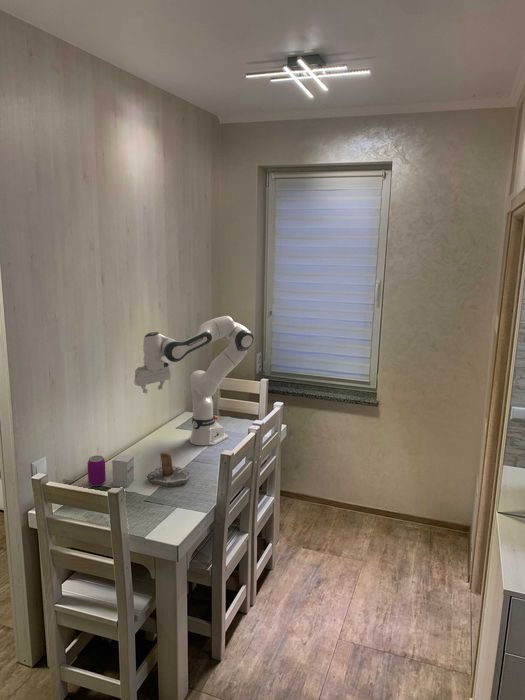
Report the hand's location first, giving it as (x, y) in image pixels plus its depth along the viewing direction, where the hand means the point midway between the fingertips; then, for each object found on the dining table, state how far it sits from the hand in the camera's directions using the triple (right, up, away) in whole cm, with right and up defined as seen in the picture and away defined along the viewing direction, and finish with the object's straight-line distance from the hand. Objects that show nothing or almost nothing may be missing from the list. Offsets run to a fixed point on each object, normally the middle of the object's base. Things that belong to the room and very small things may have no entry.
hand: (152, 391), depth 259 cm
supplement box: (-8, -40, -26) cm, 49 cm away
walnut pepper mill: (+12, -37, -21) cm, 44 cm away
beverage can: (-20, -40, -26) cm, 52 cm away
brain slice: (+12, -40, -20) cm, 46 cm away
